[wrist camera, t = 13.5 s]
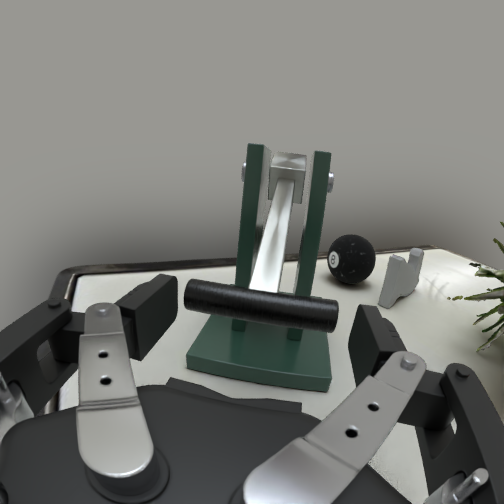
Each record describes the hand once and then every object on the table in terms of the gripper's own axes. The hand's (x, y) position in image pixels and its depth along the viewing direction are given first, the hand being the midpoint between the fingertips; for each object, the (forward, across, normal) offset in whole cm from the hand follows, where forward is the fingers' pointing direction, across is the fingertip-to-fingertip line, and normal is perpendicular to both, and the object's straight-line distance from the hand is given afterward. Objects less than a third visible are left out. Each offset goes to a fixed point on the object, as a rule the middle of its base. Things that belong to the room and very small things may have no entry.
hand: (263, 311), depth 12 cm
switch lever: (+4, 0, -2) cm, 5 cm away
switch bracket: (+8, 0, +6) cm, 11 cm away
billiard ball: (+23, -9, +7) cm, 26 cm away
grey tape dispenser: (+20, -15, +7) cm, 26 cm away
